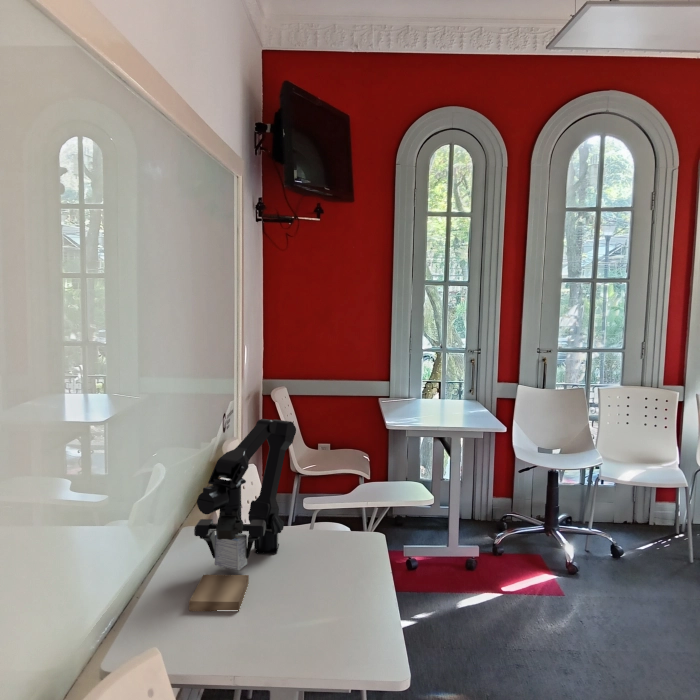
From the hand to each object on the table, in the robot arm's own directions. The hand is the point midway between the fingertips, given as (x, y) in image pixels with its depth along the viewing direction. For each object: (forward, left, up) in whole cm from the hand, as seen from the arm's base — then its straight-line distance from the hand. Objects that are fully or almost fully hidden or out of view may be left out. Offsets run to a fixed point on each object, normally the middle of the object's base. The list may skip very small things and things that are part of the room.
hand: (230, 557), depth 166 cm
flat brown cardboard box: (0, +14, -4) cm, 15 cm away
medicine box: (0, 0, -2) cm, 2 cm away
